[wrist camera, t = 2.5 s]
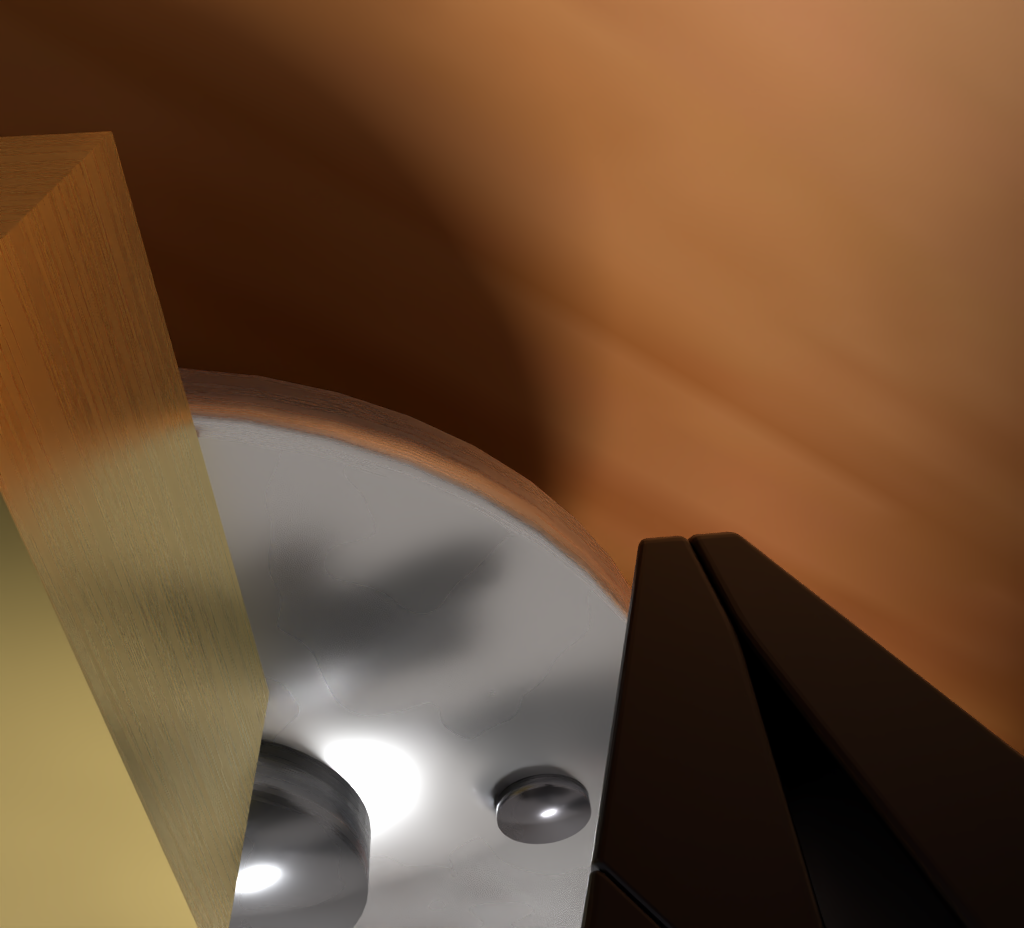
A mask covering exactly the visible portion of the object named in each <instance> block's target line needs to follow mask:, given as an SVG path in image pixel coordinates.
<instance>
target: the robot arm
mask: <svg viewBox="0 0 1024 928" xmlns="http://www.w3.org/2000/svg"><path fill="white" fill-rule="evenodd" d="M581 928H1024V757H1023V756H1022V755H1021V754H1019V753H1018V752H1017V751H1015V750H1014V749H1013V748H1012V747H1010V746H1009V745H1008V744H1007V743H1005V742H1004V741H1003V740H1001V739H1000V738H999V737H998V736H996V735H995V734H994V733H992V732H991V731H990V730H989V729H987V728H986V727H985V726H983V725H982V724H981V723H980V722H978V721H977V720H976V719H975V718H973V717H972V716H971V715H969V714H968V713H967V712H966V711H964V710H963V709H962V708H960V707H959V706H958V705H957V704H955V703H954V702H953V701H951V700H950V699H949V698H948V697H946V696H945V695H944V694H943V693H941V692H940V691H939V690H937V689H936V688H935V687H934V686H932V685H931V684H930V683H928V682H927V681H926V680H925V679H923V678H922V677H921V676H919V675H918V674H917V673H916V672H914V671H913V670H912V669H911V668H909V667H908V666H907V665H905V664H904V663H903V662H902V661H900V660H899V659H898V658H896V657H895V656H894V655H893V654H891V653H890V652H889V651H887V650H886V649H885V648H884V647H882V646H881V645H880V644H879V643H877V642H876V641H875V640H873V639H872V638H871V637H870V636H868V635H867V634H866V633H864V632H863V631H862V630H861V629H859V628H858V627H857V626H855V625H854V624H853V623H852V622H850V621H849V620H848V619H847V618H845V617H844V616H843V615H841V614H840V613H839V612H838V611H836V610H835V609H834V608H832V607H831V606H830V605H829V604H827V603H826V602H825V601H824V600H822V599H821V598H820V597H818V596H817V595H816V594H815V593H813V592H812V591H811V590H809V589H808V588H807V587H806V586H804V585H803V584H802V583H800V582H799V581H798V580H797V579H795V578H794V577H793V576H792V575H790V574H789V573H788V572H786V571H785V570H784V569H783V568H781V567H780V566H779V565H777V564H776V563H775V562H774V561H772V560H771V559H770V558H768V557H767V556H766V555H765V554H763V553H762V552H761V551H760V550H758V549H757V548H756V547H754V546H753V545H752V544H751V543H749V542H748V541H747V540H745V539H744V538H743V537H741V536H740V535H738V534H736V533H733V532H721V533H709V534H696V535H693V536H692V537H690V538H689V539H688V540H687V539H686V538H684V537H682V536H670V537H657V538H646V539H643V540H642V541H641V542H640V543H639V546H638V551H637V558H636V565H635V572H634V578H633V585H632V592H631V598H630V605H629V612H628V618H627V625H626V632H625V638H624V645H623V652H622V658H621V665H620V672H619V678H618V685H617V692H616V699H615V705H614V712H613V719H612V725H611V732H610V739H609V745H608V752H607V759H606V765H605V772H604V779H603V785H602V792H601V799H600V805H599V812H598V819H597V826H596V832H595V839H594V846H593V852H592V859H591V873H590V874H589V876H588V882H587V888H586V895H585V902H584V908H583V915H582V922H581Z"/></svg>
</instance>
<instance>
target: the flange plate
mask: <svg viewBox="0 0 1024 928" xmlns="http://www.w3.org/2000/svg"><path fill="white" fill-rule="evenodd" d="M631 592H632V590H631V589H630V587H629V585H628V584H627V582H626V581H625V579H624V577H623V576H622V574H621V573H620V571H619V570H618V568H617V566H616V565H615V563H614V562H613V560H612V559H611V557H610V556H609V555H608V554H607V553H606V552H605V551H604V549H603V548H602V547H601V546H600V545H599V544H598V543H597V542H596V541H595V539H594V538H593V537H592V536H591V535H590V534H589V533H588V532H587V530H586V529H585V528H584V527H583V526H582V525H581V524H580V523H579V521H578V520H577V519H576V518H575V517H573V516H572V515H571V514H570V513H569V512H567V511H566V510H565V509H564V508H563V507H561V506H560V505H559V504H558V503H557V502H555V501H554V500H553V499H552V498H551V497H549V496H548V495H547V494H546V493H545V492H543V491H542V490H541V489H540V488H538V487H537V486H536V485H535V484H534V483H532V482H531V481H530V480H528V479H527V478H525V477H524V476H522V475H520V474H519V473H517V472H516V471H514V470H512V469H511V468H509V467H508V466H506V465H504V464H503V463H501V462H499V461H498V460H496V459H495V458H493V457H491V456H490V455H488V454H487V453H485V452H483V451H482V450H480V449H479V448H477V447H475V446H473V445H471V444H469V443H467V442H465V441H463V440H460V439H458V438H456V437H454V436H452V435H450V434H448V433H445V432H443V431H441V430H439V429H437V428H435V427H432V426H430V425H428V424H426V423H424V422H422V421H420V420H417V419H415V418H413V417H411V416H408V415H405V414H402V413H399V412H396V411H393V410H390V409H387V408H384V407H381V406H378V405H375V404H372V403H369V402H366V401H363V400H360V399H356V398H353V397H350V396H347V395H344V394H341V393H338V392H334V391H329V390H324V389H319V388H315V387H310V386H305V385H301V384H296V383H291V382H286V381H282V380H277V379H272V378H267V377H263V376H256V375H246V374H236V373H226V372H216V371H206V370H196V369H186V368H178V365H177V362H176V358H175V355H174V351H173V348H172V344H171V340H170V337H169V333H168V330H167V326H166V323H165V319H164V315H163V312H162V308H161V305H160V301H159V298H158V294H157V290H156V287H155V283H154V280H153V276H152V273H151V269H150V265H149V262H148V258H147V255H146V251H145V248H144V244H143V240H142V237H141V233H140V230H139V226H138V223H137V219H136V215H135V212H134V208H133V205H132V201H131V198H130V194H129V191H128V187H127V183H126V180H125V176H124V173H123V169H122V166H121V162H120V158H119V155H118V151H117V148H116V144H115V141H114V137H113V133H112V131H106V132H87V133H68V134H49V135H30V136H11V137H0V928H581V922H582V915H583V908H584V902H585V895H586V888H587V882H588V876H589V874H590V873H591V859H592V852H593V846H594V839H595V832H596V826H597V819H598V812H599V805H600V799H601V792H602V785H603V779H604V772H605V765H606V759H607V752H608V745H609V739H610V732H611V725H612V719H613V712H614V705H615V699H616V692H617V685H618V678H619V672H620V665H621V658H622V652H623V645H624V638H625V632H626V625H627V618H628V612H629V605H630V598H631Z"/></svg>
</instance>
